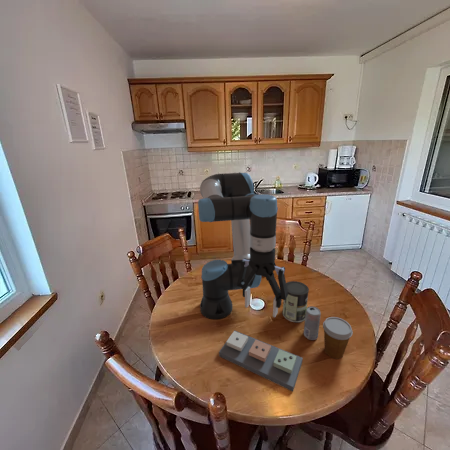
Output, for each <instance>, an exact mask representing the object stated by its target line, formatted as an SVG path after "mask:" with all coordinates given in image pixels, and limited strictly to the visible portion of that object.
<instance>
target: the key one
mask: <svg viewBox="0 0 450 450" xmlns="http://www.w3.org/2000/svg"><path fill="white" fill-rule="evenodd" d="M236 331H237V330H235V331H234V330H233V332H232V333H231V334H232V335H231V334H230V335H229V337H228V339H227V340H226V341H225V343H226V345H227V346H230V347H232V348H234V349H236V350H239V351H242V349H243V348H244V346H245V344H246V343H247V341H248V336H249V335H247V336H245V335H246V334H245V335H243V334H244V333H242V332H240V333H238V332H239V331H237V332H236ZM241 333H242V334H241Z"/></svg>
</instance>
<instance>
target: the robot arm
mask: <svg viewBox="0 0 450 450" xmlns="http://www.w3.org/2000/svg"><path fill="white" fill-rule="evenodd" d="M254 187H255V186H254V181H253V178H252V177H251V175H250V173H247V172H241V171H240V172H232V173H231V172H229V173H215V174H211V175H210V176H207V177H206V178H205V179H203V180H202V182H201V183H200V186H199V194H200V195H201V197H202V198H199V199H198V201H197V205H198V206H197V207H198V220H199V221H200V222H202V223H205V222H206V223H214V222H215V223H216V222H228V221H230V223H231V232H232V235H231V236H232V246H233V247H232V248H233V257H231V259H230V261H231V262H230V263H227V261H226V260H224V259H214V260H210V261H208V262H207V263H205V264H204V265H203V266H202V268H201V276H200V277H201V281H202V282H201V283H202V297H201V301H200V304H199V305H200V306H199V308H200V313H201V315H202V316H203V317H205V318H207V319H210V320H221V319H224V318H226V317H228V316H229V315H230V314H231V313H232V312H233V301H232V299H231V297H230V294H229V291H235V290H236V291H237V290H242V297H243V298H244V308H247V309H248V308H249V306H250V304H251V289H254V288H255V289H256V288H258V287H259V286H260V285H261V282H262V277H263V278H265V280H266V281H267V282H268V283H269V286H270V288H271V290H272V292H273V295H274V298H273V303H272V305H273V307H272V317H273V318H276V316H277V314H278V312H279V309H280V308H281V306H282V301H283V300H286V298H287V296H288V291H287V286H286V283H287V282H286V276H285V273H286V266H278V265H277V264H276V244H277V242H276V241H277V239H276V238H277V237H276V236H277V218H278V199H277V196H275V195H271V194H267V193H266V194H257V193H254V192H255V191H254V189H255V188H254ZM274 271H275V272H276V275H277V279H276V277H275V273H274ZM277 280H278V282H277Z"/></svg>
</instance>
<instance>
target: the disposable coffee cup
mask: <svg viewBox="0 0 450 450" xmlns="http://www.w3.org/2000/svg"><path fill="white" fill-rule="evenodd" d="M322 329H323V334H324V335H323V337H324V339H323V343H324V344H323V345H324V352H325V354H326V355H328V357H330V358H332V359H336V360H339V359H342V358H343V356H344V354H345V352H346V349H347V346H348V343H349V341H350V339H351V337H352V336H353V334H354V333H353V329H352V326H351V324H350V323H349V322H348V321H347V320H344V318H340V317H337V316H330V317H327V318H325V320H324V321H323V323H322Z"/></svg>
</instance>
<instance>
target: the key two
mask: <svg viewBox="0 0 450 450" xmlns="http://www.w3.org/2000/svg"><path fill="white" fill-rule="evenodd" d="M258 340H259V339H257V340H255V342H254V343H253V345H252V347H251V348H250V350H249V355H250V356H252V357H254V358H257V359H259V360H261V361H263V362H265V361H266V359H267V357H268V355H269V353H270V351H271V346H270V345H271V344H270V345H268V344H269V343H267V344H265V343H266V342H265V343H263V342H264V341H262V342H260V341H261V340H260V341H258Z"/></svg>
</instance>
